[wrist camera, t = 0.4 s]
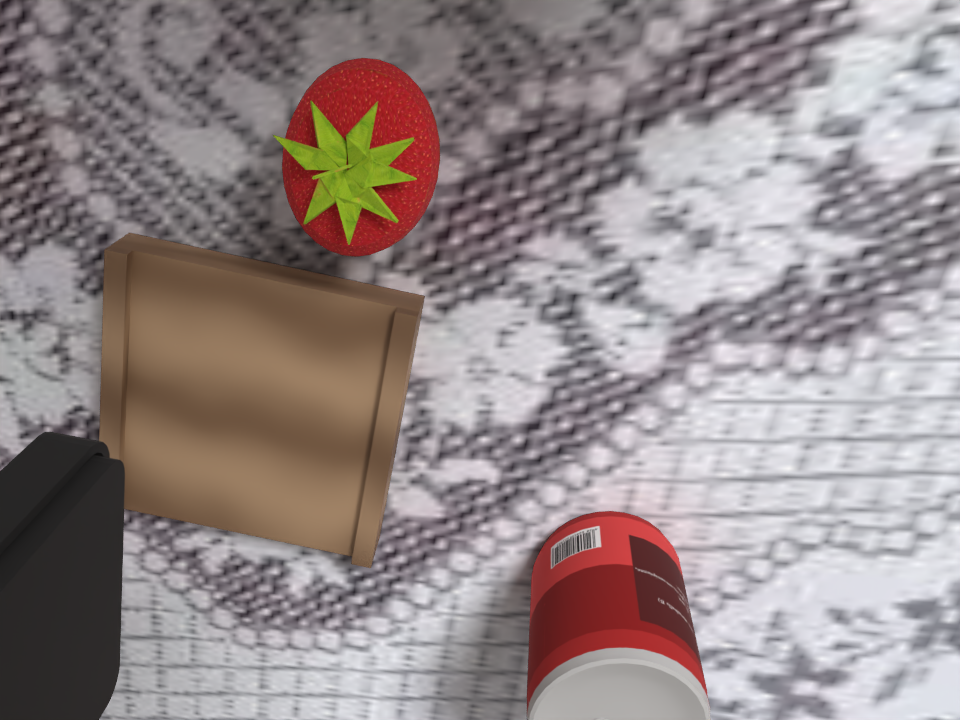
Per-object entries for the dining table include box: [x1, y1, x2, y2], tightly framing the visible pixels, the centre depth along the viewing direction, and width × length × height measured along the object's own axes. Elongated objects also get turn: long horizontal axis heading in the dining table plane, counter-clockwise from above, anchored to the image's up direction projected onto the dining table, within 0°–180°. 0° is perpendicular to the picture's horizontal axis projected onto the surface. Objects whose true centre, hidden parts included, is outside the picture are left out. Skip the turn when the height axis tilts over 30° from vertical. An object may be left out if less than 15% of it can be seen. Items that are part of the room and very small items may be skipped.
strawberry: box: [273, 58, 440, 257], centre depth 35 cm, size 6×8×10 cm
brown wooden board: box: [99, 233, 425, 568], centre depth 44 cm, size 14×14×3 cm
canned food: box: [527, 511, 711, 720], centre depth 44 cm, size 8×8×11 cm
